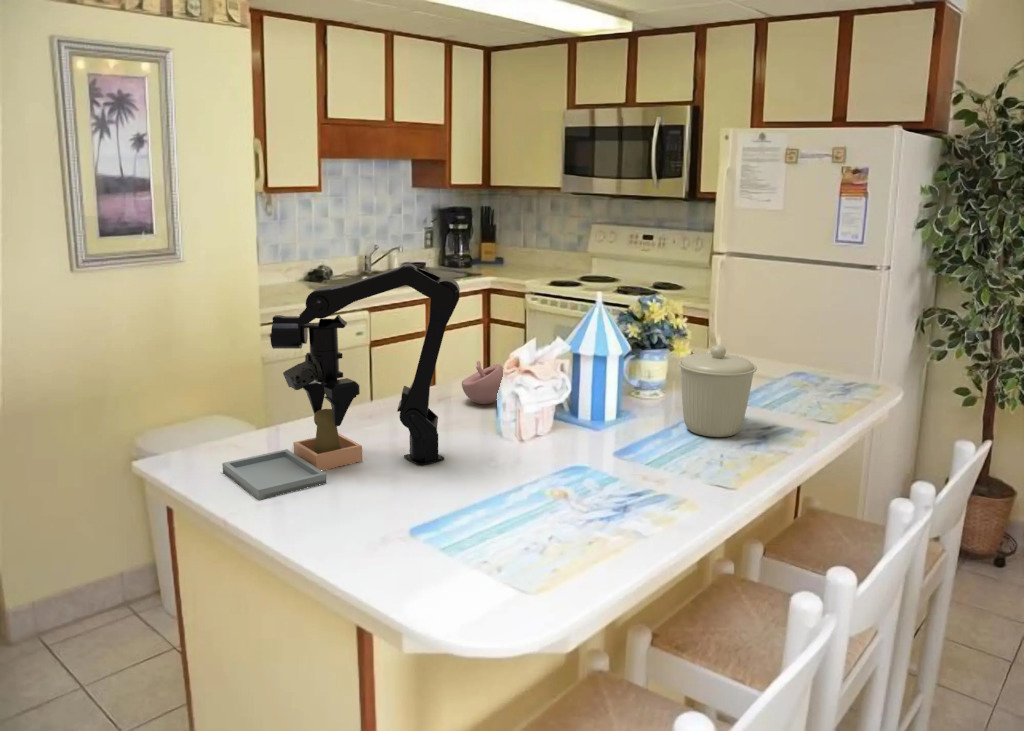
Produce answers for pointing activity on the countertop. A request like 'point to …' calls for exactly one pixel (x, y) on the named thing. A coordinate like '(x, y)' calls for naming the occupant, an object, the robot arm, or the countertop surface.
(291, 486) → the tray
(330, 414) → the olive tapered piece
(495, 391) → the mortar and pestle
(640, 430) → the countertop surface
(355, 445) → the holder
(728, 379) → the canister
